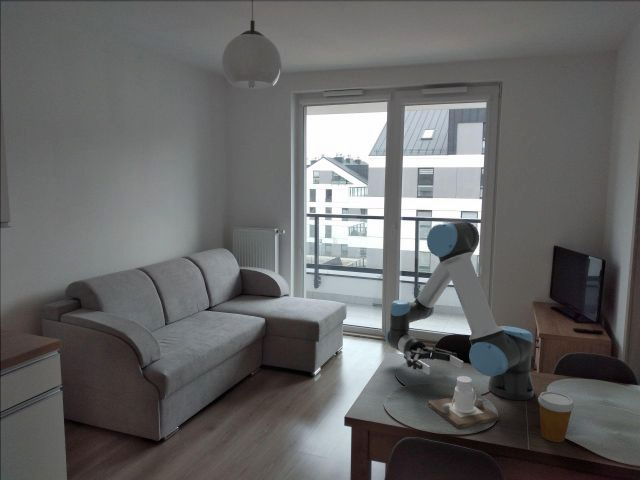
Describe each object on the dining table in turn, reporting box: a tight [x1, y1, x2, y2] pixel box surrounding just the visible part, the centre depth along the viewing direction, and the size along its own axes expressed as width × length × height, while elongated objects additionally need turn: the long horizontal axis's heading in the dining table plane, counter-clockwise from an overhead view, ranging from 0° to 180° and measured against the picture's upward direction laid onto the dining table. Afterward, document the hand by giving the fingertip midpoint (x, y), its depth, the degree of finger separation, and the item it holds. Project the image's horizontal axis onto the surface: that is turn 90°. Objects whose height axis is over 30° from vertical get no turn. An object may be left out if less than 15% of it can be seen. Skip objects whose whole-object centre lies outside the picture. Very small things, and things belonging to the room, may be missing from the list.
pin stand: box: [427, 396, 501, 429], centre depth 155 cm, size 16×16×3 cm
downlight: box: [452, 375, 477, 413], centre depth 154 cm, size 8×7×10 cm
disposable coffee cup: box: [537, 391, 575, 443], centre depth 140 cm, size 10×10×12 cm
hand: (446, 368), depth 162 cm, fingers open, 13 cm apart
